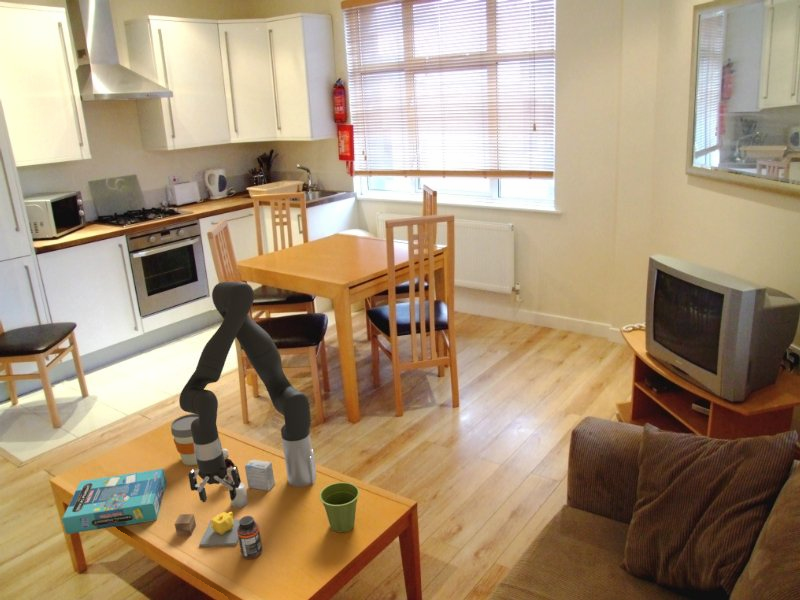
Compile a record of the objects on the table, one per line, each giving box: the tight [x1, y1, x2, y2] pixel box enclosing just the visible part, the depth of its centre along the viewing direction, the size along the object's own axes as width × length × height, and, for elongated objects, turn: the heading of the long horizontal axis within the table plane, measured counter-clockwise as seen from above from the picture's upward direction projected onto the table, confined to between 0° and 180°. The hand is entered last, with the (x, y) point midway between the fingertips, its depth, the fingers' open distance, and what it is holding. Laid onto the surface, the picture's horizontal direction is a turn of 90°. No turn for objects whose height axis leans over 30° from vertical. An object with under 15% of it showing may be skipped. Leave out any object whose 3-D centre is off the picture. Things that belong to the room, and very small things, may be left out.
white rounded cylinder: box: [230, 482, 249, 509], centre depth 213 cm, size 5×5×6 cm
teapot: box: [210, 511, 235, 535], centre depth 199 cm, size 8×6×5 cm
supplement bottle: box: [237, 515, 263, 560], centre depth 189 cm, size 6×6×11 cm
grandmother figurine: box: [222, 448, 236, 481], centre depth 224 cm, size 8×4×13 cm, turn 84°
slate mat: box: [198, 518, 241, 547], centre depth 200 cm, size 11×11×1 cm
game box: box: [61, 468, 167, 535], centre depth 215 cm, size 20×6×27 cm
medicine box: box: [244, 459, 276, 492], centre depth 221 cm, size 8×4×9 cm, turn 71°
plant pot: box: [319, 481, 361, 533], centre depth 198 cm, size 12×12×11 cm
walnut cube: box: [174, 513, 197, 537], centre depth 202 cm, size 4×4×4 cm
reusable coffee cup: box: [170, 413, 199, 466], centre depth 240 cm, size 13×13×15 cm
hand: (218, 499), depth 196 cm, fingers open, 8 cm apart
